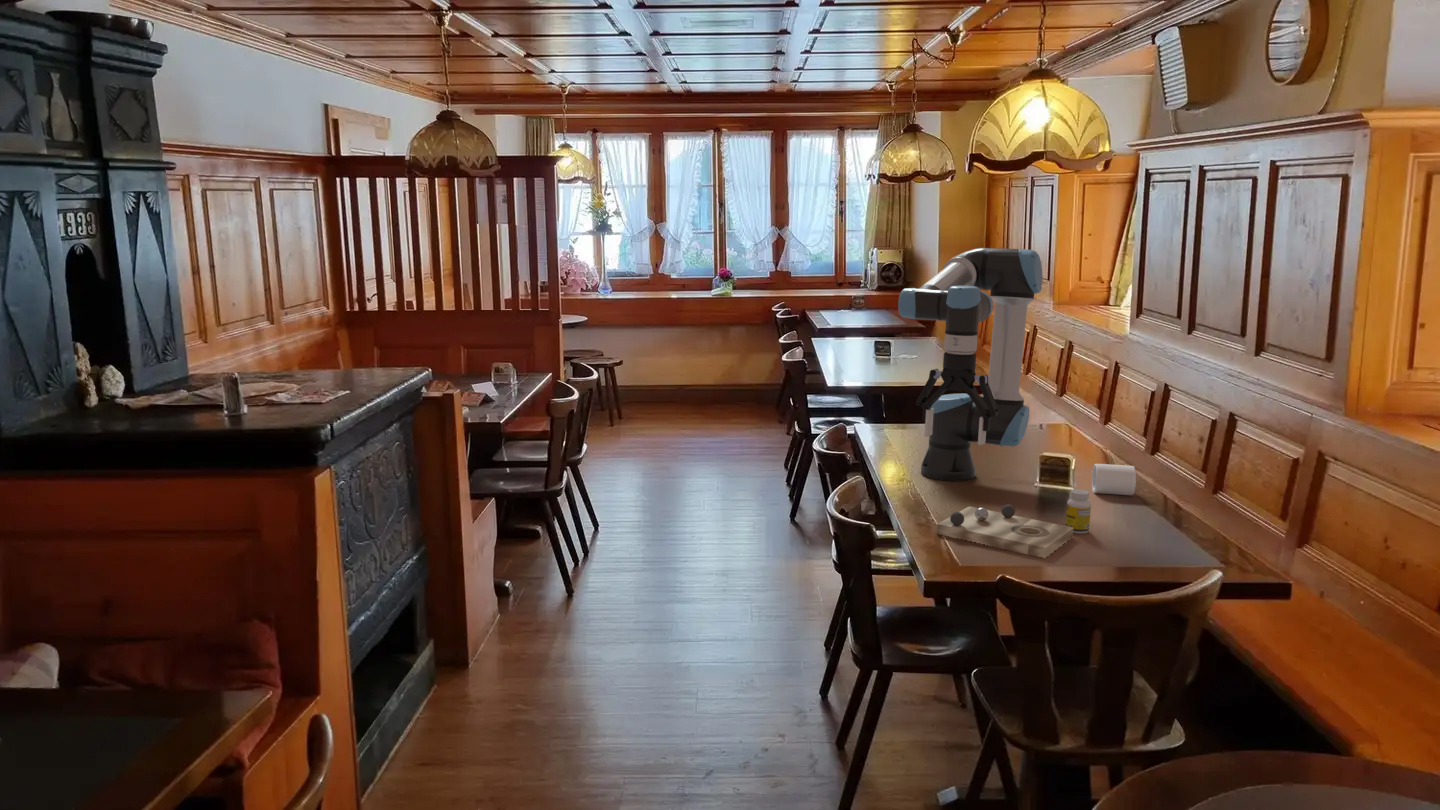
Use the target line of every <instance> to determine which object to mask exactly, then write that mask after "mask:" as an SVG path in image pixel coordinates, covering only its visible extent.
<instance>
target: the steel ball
mask: <svg viewBox="0 0 1440 810" xmlns="http://www.w3.org/2000/svg"><path fill="white" fill-rule="evenodd" d="M977 508H978V509H976V511H975V517H976V519H977V520H979V521H984V520H986V519H987V518H988V511H987V510H988V509H986V508H985V507H977Z"/></svg>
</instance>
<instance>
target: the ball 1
mask: <svg viewBox="0 0 1440 810" xmlns="http://www.w3.org/2000/svg"><path fill="white" fill-rule="evenodd" d="M949 517H950V520H951V523H952V524H954V525H956V526H959V525H961V524H962V523H963V522H964V516H963V514H962V513H960V511H954V512H953V513H951V515H950V516H949Z"/></svg>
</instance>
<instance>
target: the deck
mask: <svg viewBox="0 0 1440 810" xmlns="http://www.w3.org/2000/svg"><path fill="white" fill-rule="evenodd" d="M978 508H979V507H974V506H969V505H968V506H967V507H966V508H964V509H962V510H960V511H959V512H960V513H962V514H963V516H964V522H963V523H962V524H961V525H959V526H956V525H954V524H952V523H951V520H950V517H951V516H949V517H948V518H946V519H944V520H942V521H940V522H938V523H937V525H936V535H939V536H944V537H948V536H949V537H948V538H953V539H957V538H958V539H957V540H961V539H962V540H961V541H965V540H967V541H966V542H970V541H972V542H971V543H974V542H976V544H979V543H980V544H979V545H983V544H985V545H984V546H987V545H988V547H992V546H993V548H996V547H997V549H1001V548H1002V550H1005V549H1006V550H1005V551H1010V552H1015V553H1019V554H1024V555H1028V556H1033V557H1036V556H1037V557H1038V558H1041V557H1042V558H1041V559H1047V558H1048V557H1049V556H1051V555H1052V554H1054V553H1055V552H1056V551H1057V550H1059V549H1060V548H1061V547H1063V546H1064V545H1065V544H1066V543H1068V542H1069V541H1071V540H1072V539H1073V538H1074V533H1073V527H1068V526H1065V525H1064V524H1063V525H1062V524H1057V523H1052V522H1048V521H1043V520H1039V519H1034V518H1028V517H1024V516H1018V515H1014V516H1012V517H1011V518H1006V517H1004V516H1003V515H1002V513H1001V512H999V511H998V512H997V511H994V510H989V509H986V510H987V511H988V518H987V519H986V520H984V521H979V520H977V519H976V517H975V511H976V509H978ZM1072 537H1073V538H1072ZM1071 538H1072V539H1071ZM1068 540H1069V541H1068ZM1067 541H1068V542H1067ZM1064 543H1065V544H1064ZM1063 544H1064V545H1063ZM1059 547H1060V548H1059ZM1058 548H1059V549H1058ZM1055 550H1056V551H1055ZM1054 551H1055V552H1054ZM1051 553H1052V554H1051ZM1050 554H1051V555H1050ZM1047 556H1048V557H1047ZM1046 557H1047V558H1046Z"/></svg>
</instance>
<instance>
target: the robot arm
mask: <svg viewBox="0 0 1440 810" xmlns="http://www.w3.org/2000/svg"><path fill="white" fill-rule="evenodd" d="M1042 267H1043V266H1042V260H1041V257H1040V255H1039V254H1038V251H1035V250H1034V249H1025V248H1001V247H1000V248H999V247H998V248H996V247H995V248H993V247H978V248H973V249H970V250H967V251H963V252H961V253H958V254H957V255H955V256H953V257H951V258H950V259H949V260H947V261H946V263H944V265H943V268H942V269H941V270H940V272H938V273H937V274H935V276H933V277H932V278H930V279H929V280H927V282H925V283H924V284H923V285H921V286H920V287H919V288H917V287H916V288H915V287H909V288H908V287H907V288H906V287H905V288H903V289H902V290H901V292H900V293H899V296H898V305H897V306H898V314H899V315H900V317H902V318H904V319H905V318H906V319H912V320H923V321H924V320H925V321H938V322H939V321H940V322H945V329H944V330H945V331H944V341H943V342H944V345H943V349H944V350H945V351H944V353H943V359H942V360H943V361H942V370H939V368H934V369H931V370H929V373H928V374H929V376H928V379H927V381H926V382H925V384H924V387H923V388H922V390H921V392H920V394H919V396H918V397H917V399H916V400H915V405H916V406H918V407H921V408H922V417H921V418H922V419H921V420H922V422H924V437H928V446H927V450H926V453H925V455H924V456H923V457H924V458H923V460H922V463H921V465H920V466H921V467H920V473H921V475H923V476H925V477H927V478H930V479H934V480H939V481H949V482H950V481H951V482H959V481H961V482H962V481H968V480H972V479H974V478H975V476H976V475H975V473H976V467H975V463H974V459H973V454H972V452H971V443H977V446H982V445H985V444H986V445H994V446H995V445H996V446H1000V447H1017V446H1018V445H1020V443H1021V442H1022V441H1023V439H1024V437H1025V434H1026V431H1027V428H1028V424H1029V420H1030V419H1029V418H1030V408H1029V406H1027V404H1026V405H1024V403H1025V398H1024V397H1023V396H1022V395H1021V393H1020V387H1021V386H1020V384H1021V374H1022V366H1023V365H1022V364H1023V353H1024V345H1025V344H1024V343H1025V337H1026V336H1025V335H1026V325H1027V324H1026V323H1027V312H1028V306H1029V305H1030V304H1031V303H1032V302H1033V301H1034V299H1035V295H1036V294H1039V293H1040V292H1041V291H1042V285H1043V268H1042ZM984 291H985V292H984ZM986 291H989V292H990V294H988V293H986ZM993 310H994V312H993ZM992 313H994V314H993V323H992V334H991V346H990V355H989V366H988V374H982V375H981V374H980V375H977V374H976V367H977V366H976V365H977V354H976V353H975V352H976V351H977V350H978V332H979V323H982V322H984V321H985V320H986V319H988V318H989V317H990V315H992ZM940 377H941V379H942V381H943V383H941V385H940V386H939V387H938V388H937V389H936V390H935V392H934V393H932V395H931V396H930V394H931V391H932V390H933V388H934V387H935V384H936V383H937V380H939V379H940ZM975 382H976V383H977V384H978V385H979V388H980V391H981V395H980V394H979V392H978V389H977V388H976V386H975V384H974V383H975ZM948 390H949V391H950V392H953V391H954V392H955V391H957V392H960V393H949V394H948V393H947V394H945V392H946V391H948ZM964 392H965V393H964ZM929 396H930V397H929ZM928 397H929V398H928ZM927 398H928V399H927Z"/></svg>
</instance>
